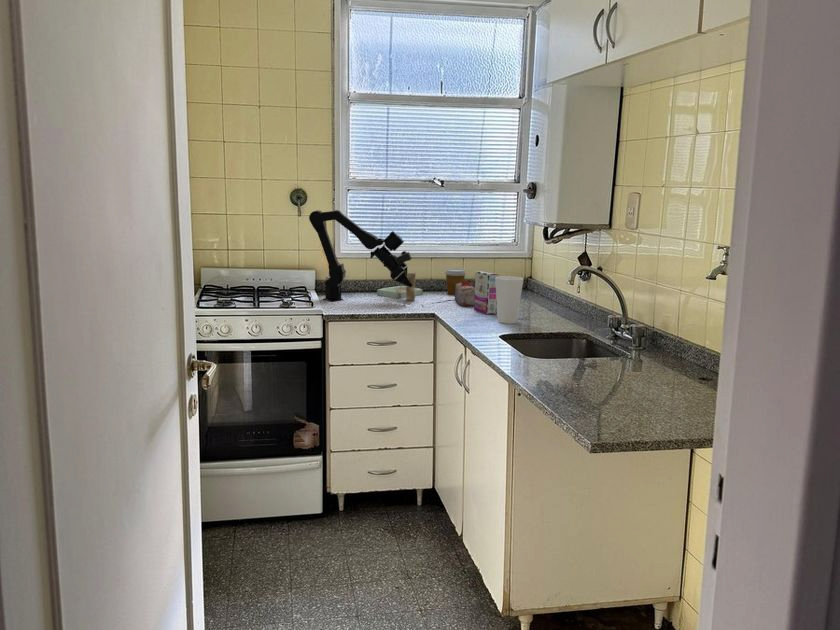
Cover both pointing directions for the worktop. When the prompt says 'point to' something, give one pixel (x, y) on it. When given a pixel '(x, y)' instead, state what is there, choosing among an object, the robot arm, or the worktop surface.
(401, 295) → the tray
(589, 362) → the worktop surface
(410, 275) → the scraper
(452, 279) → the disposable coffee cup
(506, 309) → the cup
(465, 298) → the food item
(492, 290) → the candy bar box
